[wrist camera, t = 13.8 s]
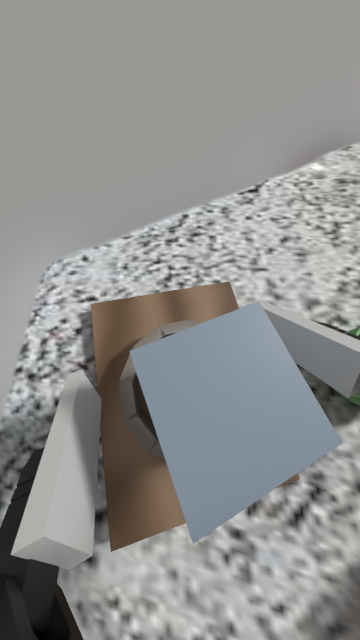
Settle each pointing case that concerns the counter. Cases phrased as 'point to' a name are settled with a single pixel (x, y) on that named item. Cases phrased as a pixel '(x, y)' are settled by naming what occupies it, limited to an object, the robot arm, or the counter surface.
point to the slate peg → (230, 414)
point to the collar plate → (142, 405)
